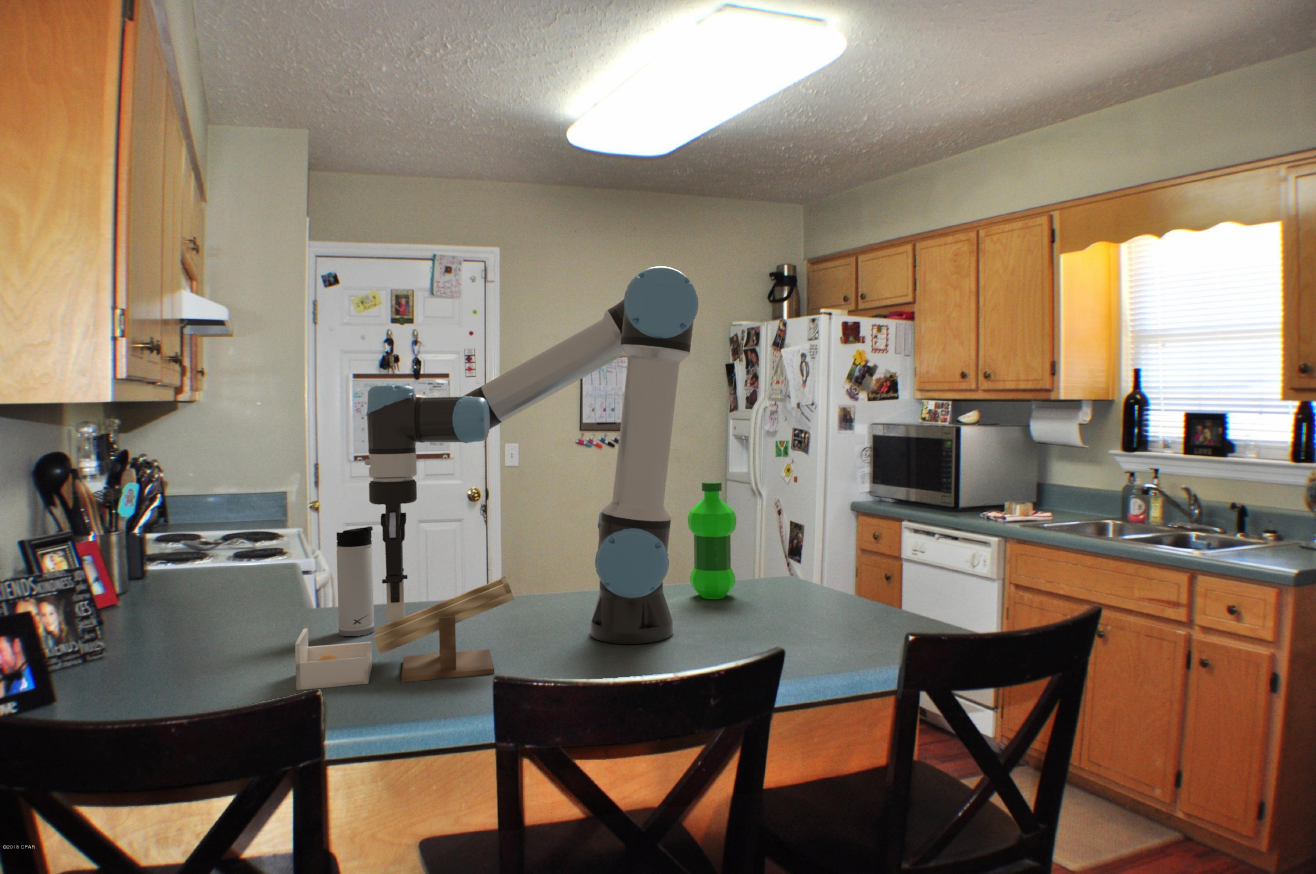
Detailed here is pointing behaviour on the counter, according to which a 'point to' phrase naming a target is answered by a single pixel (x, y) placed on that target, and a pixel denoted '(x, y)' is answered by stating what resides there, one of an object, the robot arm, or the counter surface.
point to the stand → (447, 659)
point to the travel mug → (355, 582)
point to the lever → (429, 617)
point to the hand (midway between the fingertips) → (395, 620)
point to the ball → (327, 657)
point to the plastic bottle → (712, 544)
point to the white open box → (331, 664)
